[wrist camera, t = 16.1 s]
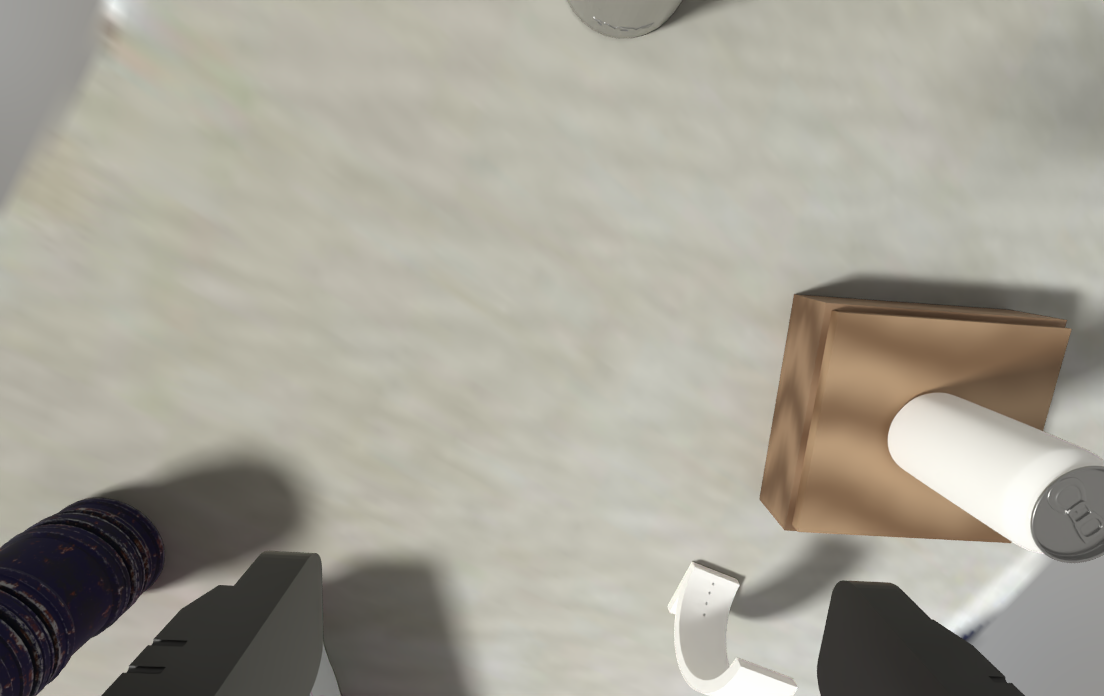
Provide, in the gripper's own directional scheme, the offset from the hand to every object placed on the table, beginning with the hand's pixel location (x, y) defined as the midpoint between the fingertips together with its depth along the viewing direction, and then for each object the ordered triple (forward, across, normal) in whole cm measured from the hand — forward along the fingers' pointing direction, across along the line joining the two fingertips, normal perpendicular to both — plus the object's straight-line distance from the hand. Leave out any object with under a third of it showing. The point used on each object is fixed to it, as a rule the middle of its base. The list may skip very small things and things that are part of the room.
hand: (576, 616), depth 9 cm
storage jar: (+36, +36, +24) cm, 56 cm away
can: (+30, -29, +7) cm, 42 cm away
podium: (+36, -29, +7) cm, 47 cm away
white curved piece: (+36, -16, +26) cm, 47 cm away
